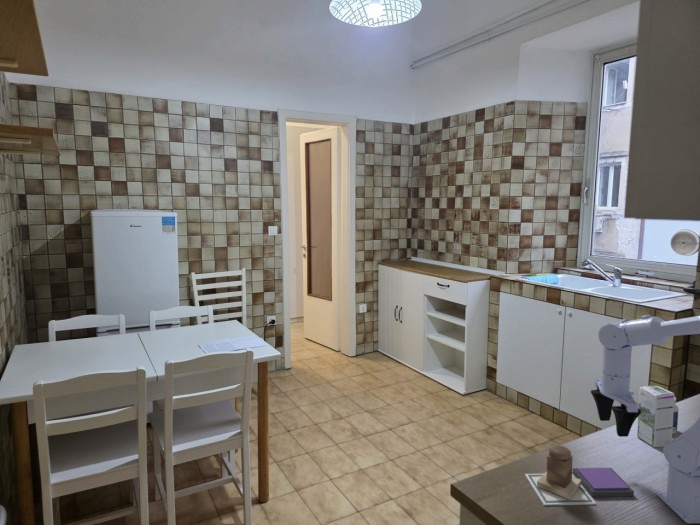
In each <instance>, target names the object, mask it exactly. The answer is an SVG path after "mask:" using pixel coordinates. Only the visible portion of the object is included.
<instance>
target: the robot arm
mask: <svg viewBox="0 0 700 525" xmlns="http://www.w3.org/2000/svg"><path fill="white" fill-rule="evenodd" d="M699 334H700V315H695V316H691V317H689V316H688V317H684V318H678V319H673V320H667V321H665V320H664V319H662V318H661V317H659V316H652V315H651V314H645V315H641V318H638V319H632V320H631V319H630V320H629V318H625V319H621V320H620V321H616V322H612V323H607V324H605V325H602V327H600V328H599V330H598V339H599V342H600V344H601V345H602V364H601V365H602V366H601V378H597V379H594V388H596V389H592V390H590V394H591V395H592V397H593V399H594V402H595V405H596V409H597V414H598V418H599V420H600V421H601V422H604V421H605V422H606V421H607V422H608V421H611V416H612V412H613V415H614V419H615V425H616V426H615V428H616V430H615V431H616V435H617V436H618V437H623V438H624V437H628V436H629V434H630V432H631V430H632V429H631V428H632V427H633V425H634V422H636V420H637V419H638V416H639V415H640V414H641V410H640V409H639V402H636V401H635V399H634V397H633V395H634V394H635V391H634V390H632V389H631V388H630V386H631V367H632V366H631V365H632V364H631V363H632V352H633V347H639V346H647V345H658V344H664V343H666V342H667V341H668V339H669V338H670V337H675V336H687V335H689V336H690V335H699ZM614 402H617V403H619V404H620V405H619V406H618V405H614ZM662 450H663V456H664V458H665V460H666V461H667V463H668V467H667V480H666V481H667V482H666V484H667V485H666V491H657V492H656V495H657V497H659V499H661V500H662V501H663V502H664V503H665V504H666V505H667V506H668V507H669V508H670V509H671V510H672V511H673V512H674V513H675V514H676V515H677V516H679V518H681V520H683V522H684V523H686V524H700V417H699V418H698V419H696V421H695V422H694V423H693V424H692V425H691V426H690V427H688V428H687V429H686V430H685V431H683V432H682V433H681V434H680V435H679V436H677V437H676V438H672V440H670V441H668V442H666V443H665V445H664V447H662Z"/></svg>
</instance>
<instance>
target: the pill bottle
mask: <svg viewBox="0 0 700 525" xmlns="http://www.w3.org/2000/svg"><path fill="white" fill-rule="evenodd" d="M676 403H677V397H676V396H674V412H673V430H672V435H674V434H677V432H678V422H679V421H678V420H679V406H678V405H677V404H676Z"/></svg>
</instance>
